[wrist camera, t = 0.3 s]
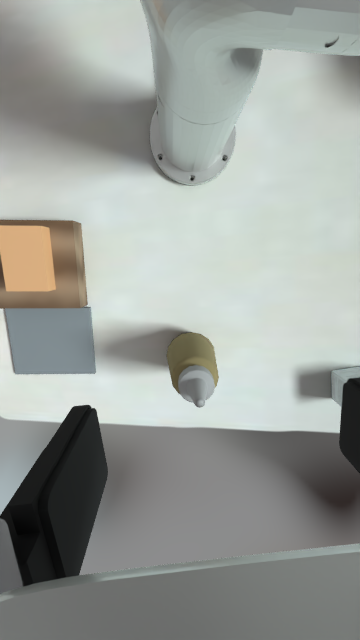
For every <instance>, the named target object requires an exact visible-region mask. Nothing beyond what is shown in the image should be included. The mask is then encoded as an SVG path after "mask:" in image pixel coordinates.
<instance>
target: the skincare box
mask: <svg viewBox="0 0 360 640" xmlns="http://www.w3.org/2000/svg"><path fill="white" fill-rule="evenodd" d="M358 377H360V366H359V367H352V368H346V369H339V370H333V371H331V383H332V399H333V400H334V401H335V402H337V403H338V404H339V405H340V406H341V407H342V393H343V385H344V383H347V380H348V379H349V378H358Z"/></svg>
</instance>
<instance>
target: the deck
mask: <svg viewBox="0 0 360 640" xmlns="http://www.w3.org/2000/svg"><path fill="white" fill-rule="evenodd" d="M0 225H3V226H44V227H48V228H49V230H50V240H51V249H52V258H53V267H54V276H55V286H56V289H55V290H52V291H6V287H5V280H4V274H3V267H2V261H1V254H0V308H82V307H84V306H86V305H87V292H86V280H85V267H84V255H83V242H82V230H81V223H78V222H75V221H51V220H0Z"/></svg>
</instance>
